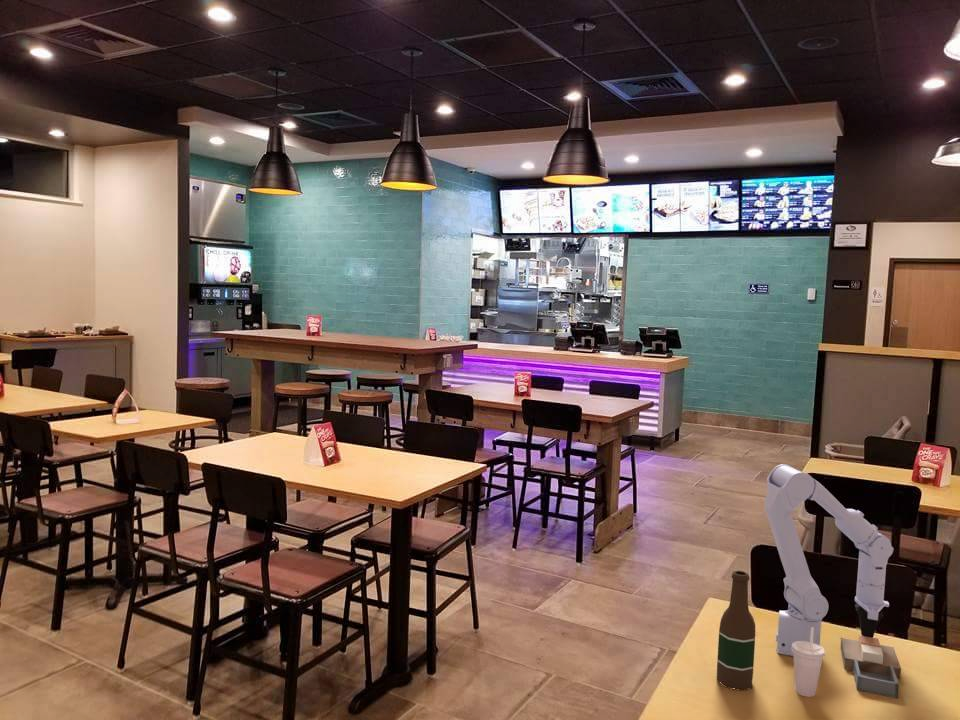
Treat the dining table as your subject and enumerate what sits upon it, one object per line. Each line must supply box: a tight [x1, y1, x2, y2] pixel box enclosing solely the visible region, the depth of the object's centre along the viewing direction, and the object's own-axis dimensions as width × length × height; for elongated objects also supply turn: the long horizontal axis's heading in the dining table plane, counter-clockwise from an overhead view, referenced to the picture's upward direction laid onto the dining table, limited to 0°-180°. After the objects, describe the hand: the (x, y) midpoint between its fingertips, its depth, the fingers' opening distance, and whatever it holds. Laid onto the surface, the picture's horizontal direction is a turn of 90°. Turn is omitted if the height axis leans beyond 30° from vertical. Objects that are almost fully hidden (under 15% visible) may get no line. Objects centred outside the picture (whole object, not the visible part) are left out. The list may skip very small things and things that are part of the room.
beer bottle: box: [716, 570, 756, 691], centre depth 155 cm, size 8×8×24 cm
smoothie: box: [791, 627, 826, 698], centre depth 152 cm, size 6×6×14 cm
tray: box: [852, 658, 900, 699], centre depth 157 cm, size 8×9×3 cm
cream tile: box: [860, 644, 883, 664], centre depth 163 cm, size 4×4×2 cm
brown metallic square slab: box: [840, 637, 902, 680], centre depth 166 cm, size 11×11×2 cm
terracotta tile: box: [857, 634, 881, 651], centre depth 168 cm, size 4×4×2 cm
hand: (866, 637), depth 172 cm, fingers closed
